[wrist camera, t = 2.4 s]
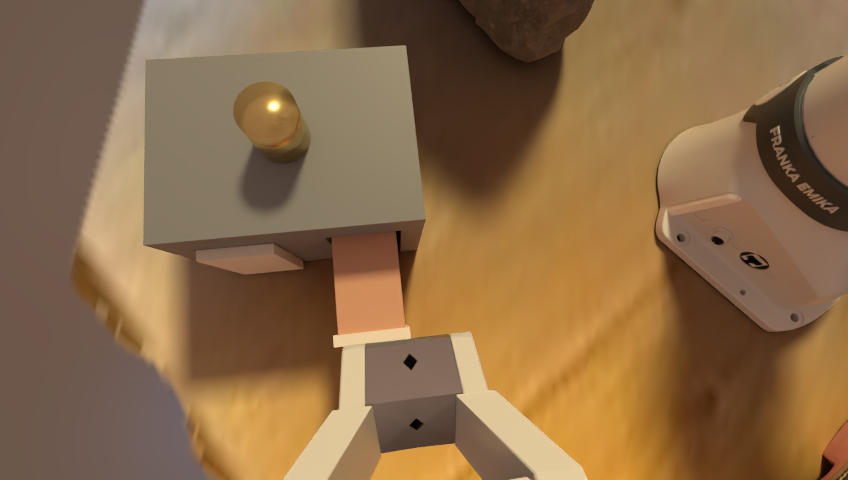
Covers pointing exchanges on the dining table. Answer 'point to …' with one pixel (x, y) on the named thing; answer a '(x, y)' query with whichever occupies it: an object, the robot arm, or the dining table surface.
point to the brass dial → (272, 122)
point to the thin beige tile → (250, 258)
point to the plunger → (368, 289)
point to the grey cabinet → (271, 182)
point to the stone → (528, 24)
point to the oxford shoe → (838, 455)
